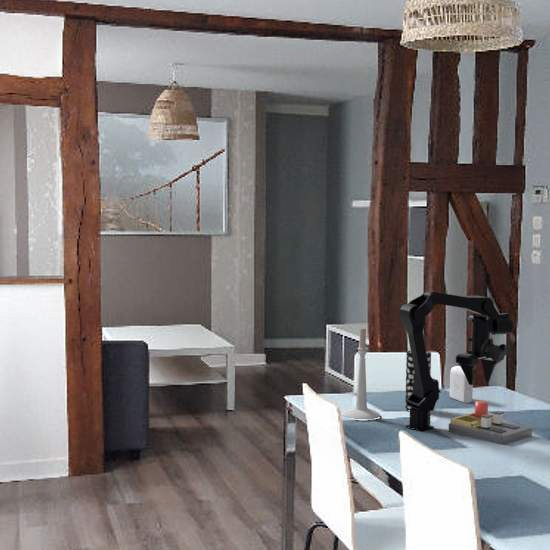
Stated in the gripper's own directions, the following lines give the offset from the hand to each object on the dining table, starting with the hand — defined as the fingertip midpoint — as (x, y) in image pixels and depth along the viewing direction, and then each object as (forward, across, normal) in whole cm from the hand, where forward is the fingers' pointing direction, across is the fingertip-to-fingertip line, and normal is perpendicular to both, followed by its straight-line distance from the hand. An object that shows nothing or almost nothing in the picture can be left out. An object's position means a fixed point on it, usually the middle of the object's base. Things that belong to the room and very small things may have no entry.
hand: (479, 383), depth 270 cm
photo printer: (+13, +24, +24) cm, 36 cm away
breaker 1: (+10, -12, -11) cm, 19 cm away
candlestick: (+13, -23, +30) cm, 40 cm away
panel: (+13, -9, -10) cm, 19 cm away
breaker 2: (+10, -5, -11) cm, 16 cm away
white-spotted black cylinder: (+13, -1, +24) cm, 27 cm away
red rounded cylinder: (+10, -5, -4) cm, 12 cm away
